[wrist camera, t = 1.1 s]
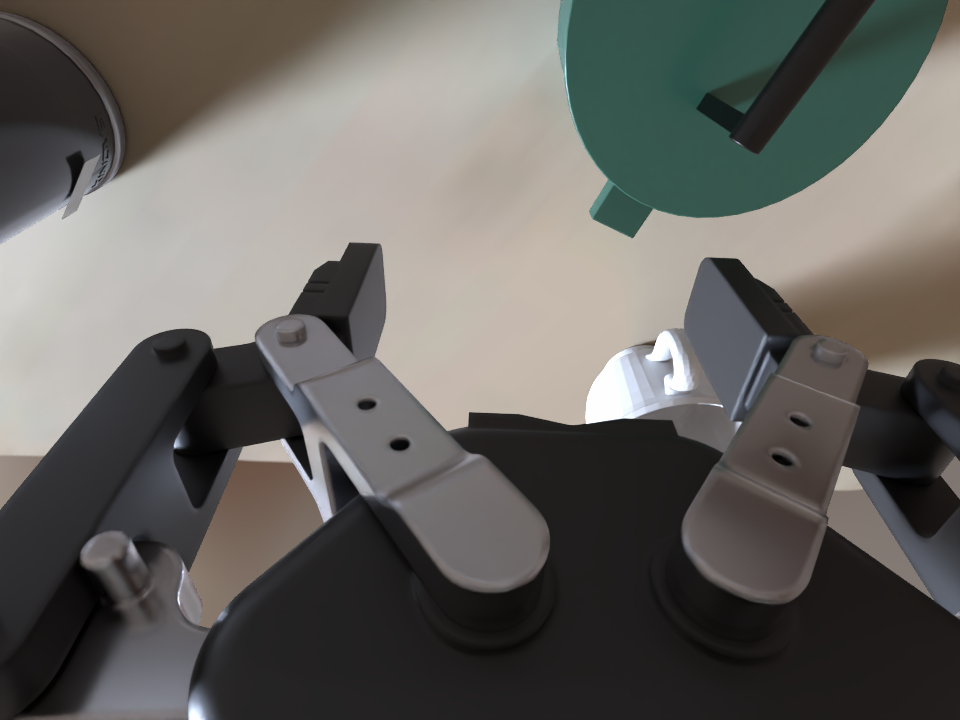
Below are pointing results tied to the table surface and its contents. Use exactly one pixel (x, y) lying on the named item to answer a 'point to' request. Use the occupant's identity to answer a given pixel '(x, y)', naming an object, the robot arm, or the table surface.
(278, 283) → the table surface
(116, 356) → the table surface
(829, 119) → the pot lid
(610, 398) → the teacup
